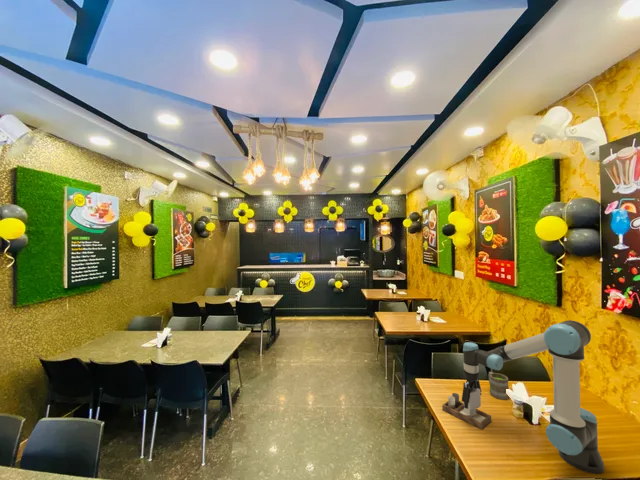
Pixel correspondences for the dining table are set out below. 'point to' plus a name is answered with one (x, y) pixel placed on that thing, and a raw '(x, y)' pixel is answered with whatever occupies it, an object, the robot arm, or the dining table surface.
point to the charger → (474, 400)
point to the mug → (498, 385)
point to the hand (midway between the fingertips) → (472, 409)
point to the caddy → (457, 410)
